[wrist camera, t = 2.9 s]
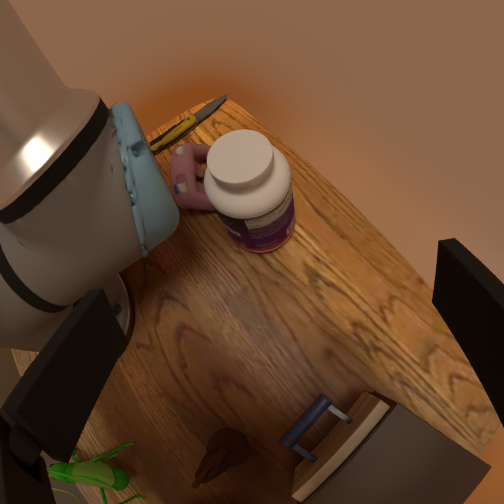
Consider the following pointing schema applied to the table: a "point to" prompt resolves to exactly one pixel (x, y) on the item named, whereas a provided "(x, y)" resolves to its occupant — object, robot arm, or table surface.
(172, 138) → the utility knife
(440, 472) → the cabinet
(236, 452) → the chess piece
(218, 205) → the pill bottle
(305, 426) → the drawer
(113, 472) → the toy
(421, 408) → the table surface
